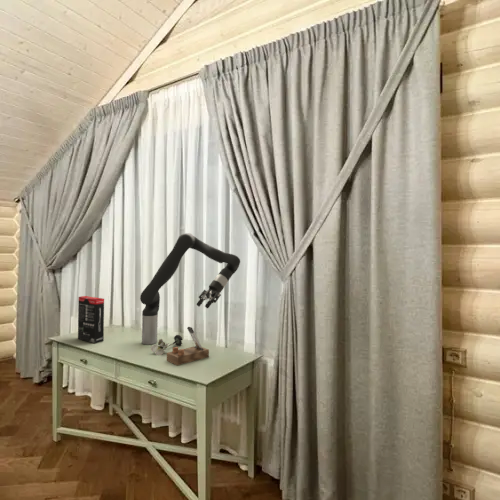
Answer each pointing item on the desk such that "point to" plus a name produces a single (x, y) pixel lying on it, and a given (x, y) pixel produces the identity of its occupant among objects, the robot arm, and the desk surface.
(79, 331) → the graphics card box
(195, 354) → the lever base
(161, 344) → the artificial flower
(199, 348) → the lever
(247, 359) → the desk surface
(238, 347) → the desk surface
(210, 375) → the desk surface
